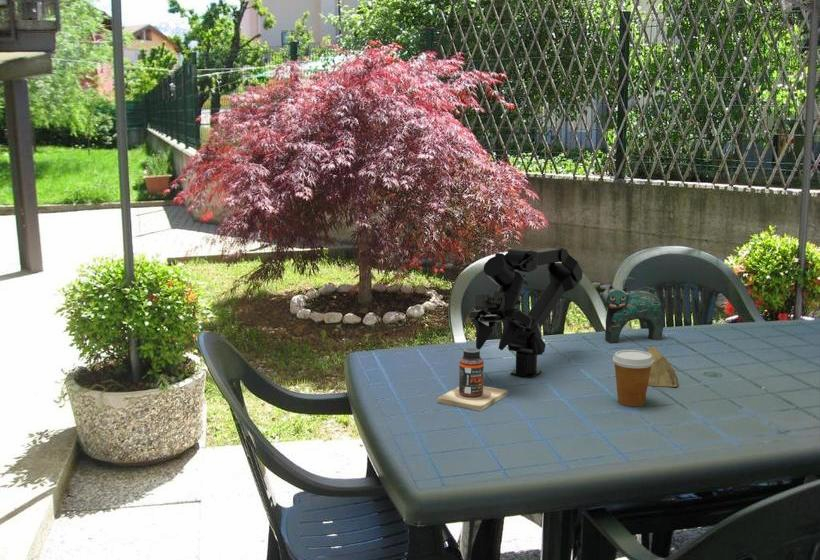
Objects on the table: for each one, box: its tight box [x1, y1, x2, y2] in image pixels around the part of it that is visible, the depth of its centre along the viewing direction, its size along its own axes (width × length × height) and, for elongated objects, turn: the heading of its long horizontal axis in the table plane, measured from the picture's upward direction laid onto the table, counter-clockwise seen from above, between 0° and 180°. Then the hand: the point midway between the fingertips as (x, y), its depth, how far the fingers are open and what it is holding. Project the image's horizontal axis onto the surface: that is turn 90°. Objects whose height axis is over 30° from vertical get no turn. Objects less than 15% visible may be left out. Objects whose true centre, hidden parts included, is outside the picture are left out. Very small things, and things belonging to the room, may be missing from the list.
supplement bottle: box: [458, 347, 485, 397], centre depth 213 cm, size 6×6×11 cm
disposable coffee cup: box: [612, 349, 653, 407], centre depth 210 cm, size 10×10×12 cm
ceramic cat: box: [602, 277, 666, 344], centre depth 267 cm, size 20×6×20 cm, turn 102°
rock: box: [646, 346, 679, 388], centre depth 224 cm, size 10×8×10 cm
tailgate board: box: [436, 385, 509, 412], centre depth 215 cm, size 15×12×1 cm
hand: (488, 349), depth 219 cm, fingers open, 9 cm apart
